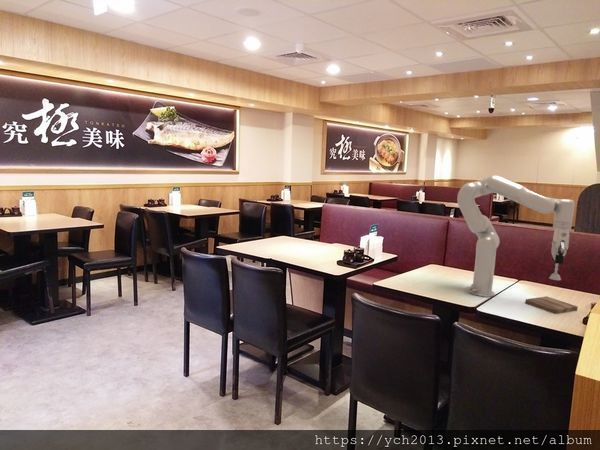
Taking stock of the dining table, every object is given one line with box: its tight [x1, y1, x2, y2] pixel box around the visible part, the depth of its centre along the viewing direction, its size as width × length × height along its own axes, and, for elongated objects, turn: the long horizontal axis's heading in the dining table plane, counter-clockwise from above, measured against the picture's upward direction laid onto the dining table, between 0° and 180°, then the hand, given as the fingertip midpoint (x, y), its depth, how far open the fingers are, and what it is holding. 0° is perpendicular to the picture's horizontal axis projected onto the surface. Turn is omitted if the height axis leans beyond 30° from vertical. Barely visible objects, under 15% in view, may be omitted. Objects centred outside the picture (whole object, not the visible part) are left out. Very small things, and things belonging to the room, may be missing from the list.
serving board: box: [524, 295, 579, 315], centre depth 209 cm, size 16×16×2 cm
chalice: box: [548, 240, 568, 281], centre depth 206 cm, size 7×7×18 cm
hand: (557, 261), depth 206 cm, fingers closed on chalice, 5 cm apart
